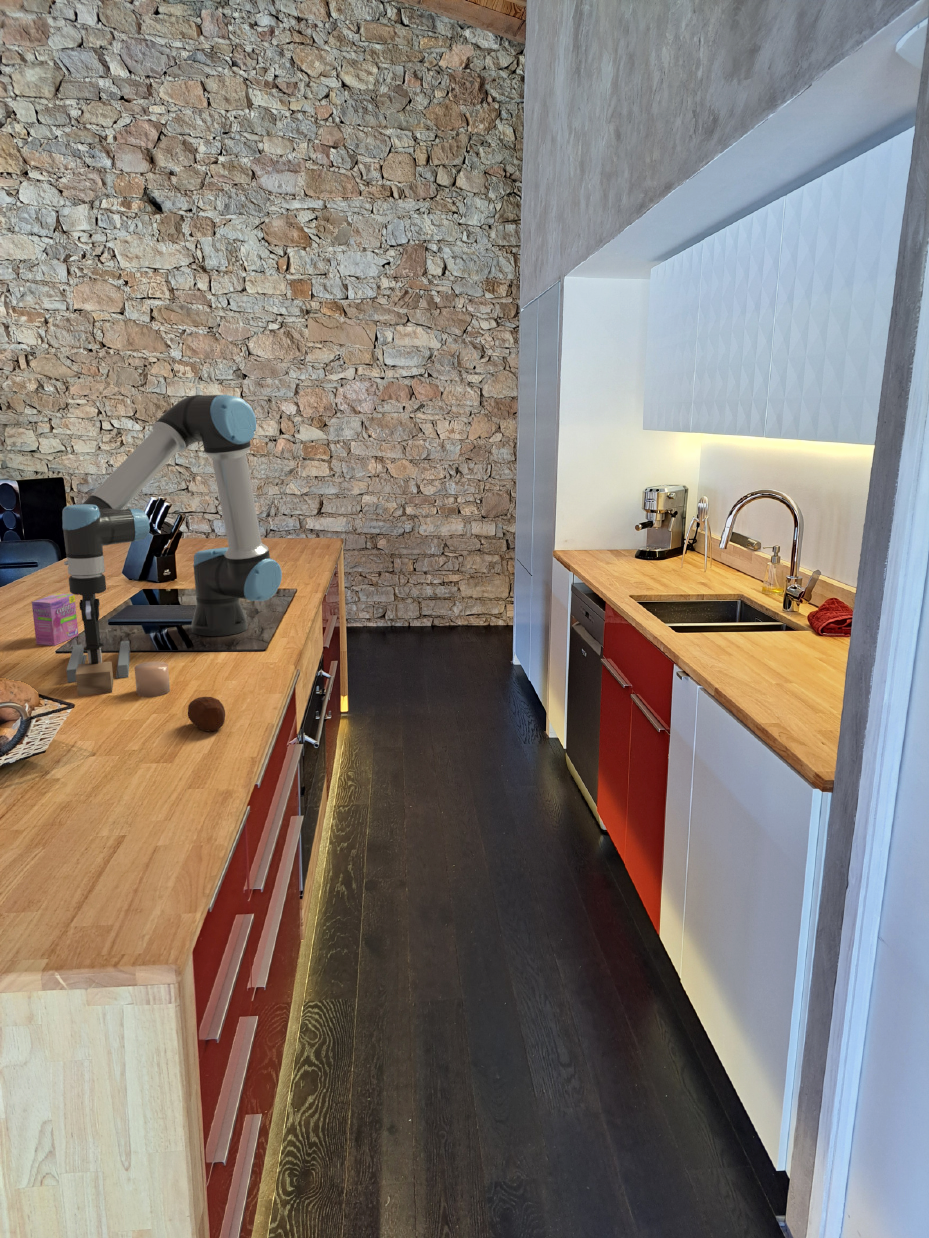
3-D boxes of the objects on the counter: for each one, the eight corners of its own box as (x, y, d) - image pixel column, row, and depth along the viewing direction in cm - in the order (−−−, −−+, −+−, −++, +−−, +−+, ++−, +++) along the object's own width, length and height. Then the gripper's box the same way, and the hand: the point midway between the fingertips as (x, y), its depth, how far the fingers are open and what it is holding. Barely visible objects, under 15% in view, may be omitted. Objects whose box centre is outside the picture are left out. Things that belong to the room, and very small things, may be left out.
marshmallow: (169, 685, 198) (167, 660, 196) (170, 695, 192) (168, 669, 190) (136, 688, 196) (134, 663, 194) (136, 698, 189) (134, 672, 188)
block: (113, 682, 200) (111, 661, 199) (112, 692, 193) (109, 671, 192) (80, 685, 198) (78, 664, 197) (77, 696, 191) (75, 674, 190)
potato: (194, 738, 168) (191, 706, 166) (184, 722, 176) (182, 692, 174) (230, 732, 171) (228, 701, 169) (220, 717, 179) (218, 687, 177)
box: (55, 646, 229) (50, 602, 226) (35, 644, 230) (30, 601, 227) (79, 636, 239) (75, 594, 236) (61, 634, 240) (56, 593, 237)
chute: (130, 652, 224) (129, 640, 223) (128, 677, 204) (127, 664, 203) (75, 656, 220) (73, 645, 219) (67, 682, 200) (66, 670, 199)
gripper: (70, 570, 199) (81, 669, 204) (65, 581, 187) (76, 686, 192) (106, 568, 201) (115, 666, 207) (103, 579, 189) (113, 682, 195)
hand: (96, 675), depth 200 cm, fingers closed
